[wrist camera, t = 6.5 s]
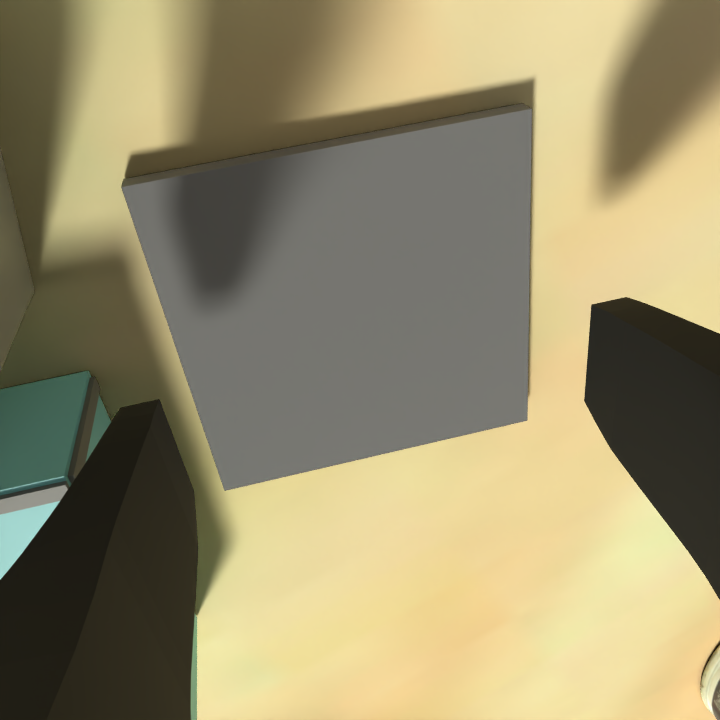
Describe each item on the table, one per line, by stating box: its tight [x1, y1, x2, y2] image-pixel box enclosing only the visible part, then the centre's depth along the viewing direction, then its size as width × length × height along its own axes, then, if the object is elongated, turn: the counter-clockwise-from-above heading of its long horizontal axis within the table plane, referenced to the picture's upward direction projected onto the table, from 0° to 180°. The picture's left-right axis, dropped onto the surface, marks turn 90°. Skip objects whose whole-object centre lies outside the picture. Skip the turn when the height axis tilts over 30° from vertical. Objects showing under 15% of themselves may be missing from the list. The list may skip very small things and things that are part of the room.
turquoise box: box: [0, 371, 197, 720], centre depth 14 cm, size 8×4×3 cm, turn 7°
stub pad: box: [121, 103, 532, 491], centre depth 14 cm, size 7×7×1 cm
